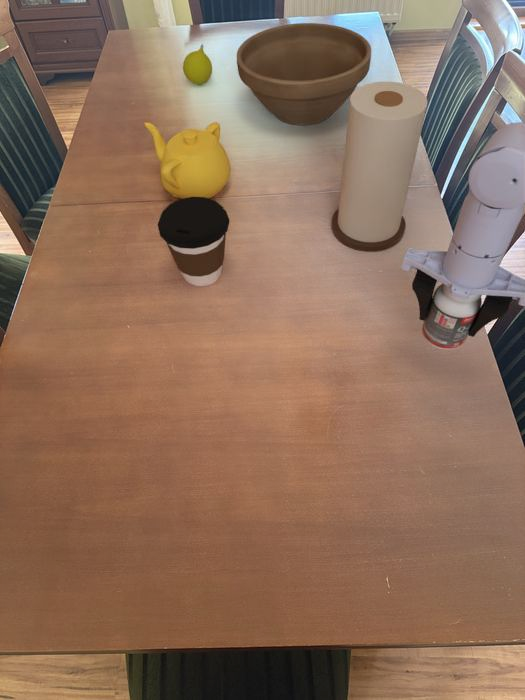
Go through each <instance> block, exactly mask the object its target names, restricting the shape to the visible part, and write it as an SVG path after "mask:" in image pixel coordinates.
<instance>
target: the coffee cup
mask: <svg viewBox="0 0 525 700" xmlns="http://www.w3.org/2000/svg"><path fill="white" fill-rule="evenodd" d="M229 226H230V217H229V214H228V212H227V210H226V209H225V208H224V206H223V205H222V204H220V203H219V202H218V201H216V200H214V199H211V198H209V199H208V198H205V197H189V198H183V199H181V198H179V199H177V200H176V201H173V202H171V203H170V204H168V206H167V207H165V208H164V209H163V210H162V212H161V214H160V216H159V219H158V222H157V229H158V233H159V236H160V238H161V239H162V240H163V241H164V242H165V243H166V245H167V247H168V249H169V252H170V255H171V256H172V259H173V260H174V263H175V265H176V267H177V269H178V270H179V271H180V273H181V275H182V277H183V279H184V280H185V281H186V282H187V283H188V284H189V285H191V286H194V287H202V288H203V287H207V286H211V285H213V284H215V283H216V282H217V281H218V280H219V278H220V277H221V275H222V272H223V263H224V260H225V252H226V251H225V249H226V238H227V232H228V230H229Z"/></svg>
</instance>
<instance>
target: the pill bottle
mask: <svg viewBox="0 0 525 700" xmlns="http://www.w3.org/2000/svg"><path fill="white" fill-rule="evenodd" d="M482 296H483V295H475V294H470V296H469V298H468V299H462V298H458V297H455V296H452V295H451V294H450V288H449V287H448V286H446V285H444V284H443V283H440V284H439V286H436V289H434V292H433V297H432V300H431V303H430V306H429V309H428V312H427V315H426V318H425V320H424V321H423V323H422V327H421V335H422V336H423V338H424V340H425V341H426V343H428V344H429V345H430V346H432V347H434V348H436V349H439V350H442V351H452V350H455V349H458V348H460V347H462V345H464V343H466V340H467V338H468V336H469V335H468V334H469V331H470V329H471V327H472V325H473V323H474V321H475V319H476V316H477V314H478V312H479V310H480V308H481V306H482V304H483V299H482Z"/></svg>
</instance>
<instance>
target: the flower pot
mask: <svg viewBox="0 0 525 700" xmlns="http://www.w3.org/2000/svg"><path fill="white" fill-rule="evenodd" d="M371 60H372V46H371V44H370V42H369V41H368V40H367V39H366V38H365V37H364V36H363V35H361V34H360V33H358V32H356V31H353V30H352V29H349V28H346V27H342V26H338V25H334V24H327V23H318V22H301V23H299V22H298V23H297V22H296V23H290V24H284V25H279V26H274V27H271V28H267V29H264V30H262V31H259V32H257V33H255V34H253V35H251V36H250V37H248V38H247V39H245V40H244V41H243V42H242V43H241V44H240V45H239V47H238V49H237V51H236V66H237V73H238V75H239V78H240V80H241V82H242V83H243V84H244V85H245V86H246V87H247V88H249V89H250V90H251V92H252V94H253V96H255V98H256V99H257V100H258V101H259V103H261V104H262V106H263V107H265V109H267V110H268V111H269V112H270V113H271V114H272V115H273V116H274V117H276V118H277V119H278V120H279V121H281V122H283V123H285V124H288V125H293V126H309V125H315V124H318V123H322V122H324V121H326V120H327V119H329V118H330V117H331V116H332V114H334V113H335V112H336V111H337V110H339V108H341V106H343V104H344V103H346V101H347V100H348V99H349V97H351V94H352V93H353V92H354V91H355V90H356V89H357V86H358V84H360V83H361V82H362V81H363V80H365V78H366V77H367V76H368V73H369V72H370V66H371V62H372V61H371Z"/></svg>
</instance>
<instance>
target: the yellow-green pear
mask: <svg viewBox="0 0 525 700" xmlns="http://www.w3.org/2000/svg"><path fill="white" fill-rule="evenodd" d="M182 70H183V74H184V76H185V77H186V79H187V80H188V81H189V82H190V83H192V84H194V85H203V84H205V83H207V82H208V80H210V79H211V76H212V73H213V64H212V61H211V59H210V57H209V56H208V55H207V54H206V53H205V51H204V43H203V44H200V48H198V50H195V51H192V52H189V53H187V55H186V56H185V57H184V59H183V63H182Z"/></svg>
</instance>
